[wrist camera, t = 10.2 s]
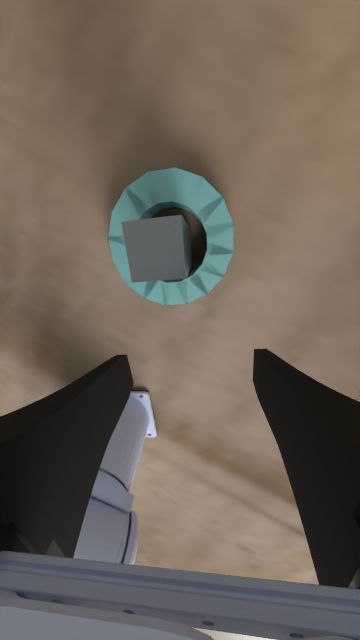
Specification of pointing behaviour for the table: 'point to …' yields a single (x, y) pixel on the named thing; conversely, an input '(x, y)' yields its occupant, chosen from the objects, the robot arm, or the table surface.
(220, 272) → the teal creased ring
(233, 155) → the table surface
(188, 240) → the dark metal rectangular bar
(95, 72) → the table surface
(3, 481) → the robot arm
